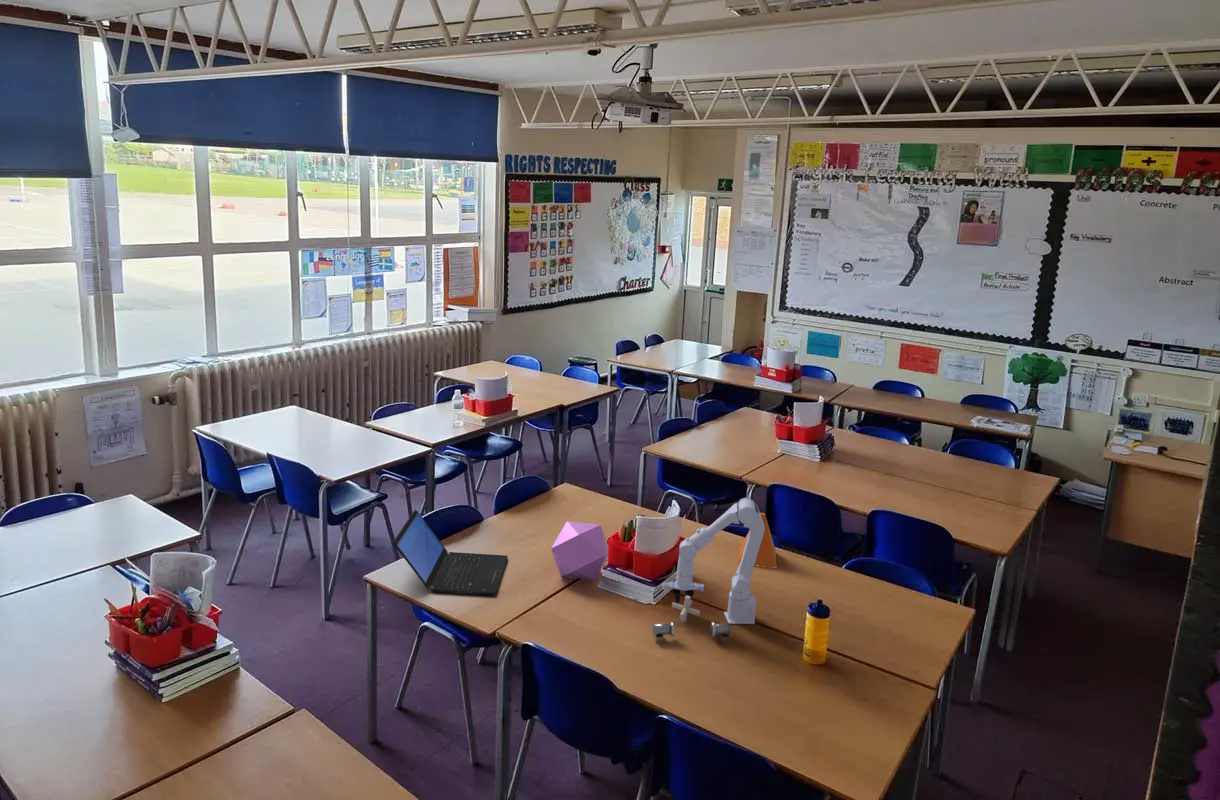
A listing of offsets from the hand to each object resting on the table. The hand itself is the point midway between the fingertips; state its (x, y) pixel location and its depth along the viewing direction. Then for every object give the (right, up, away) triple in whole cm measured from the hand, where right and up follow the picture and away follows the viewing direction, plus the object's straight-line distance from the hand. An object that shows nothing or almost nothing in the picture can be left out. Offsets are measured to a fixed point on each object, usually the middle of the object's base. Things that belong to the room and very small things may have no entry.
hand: (680, 607), depth 304 cm
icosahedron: (-37, +7, +25) cm, 45 cm away
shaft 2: (+12, -7, -16) cm, 21 cm away
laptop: (-85, +8, +20) cm, 88 cm away
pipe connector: (+1, -3, -5) cm, 6 cm away
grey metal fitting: (-8, -6, -18) cm, 21 cm away
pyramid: (+36, +8, +49) cm, 61 cm away
